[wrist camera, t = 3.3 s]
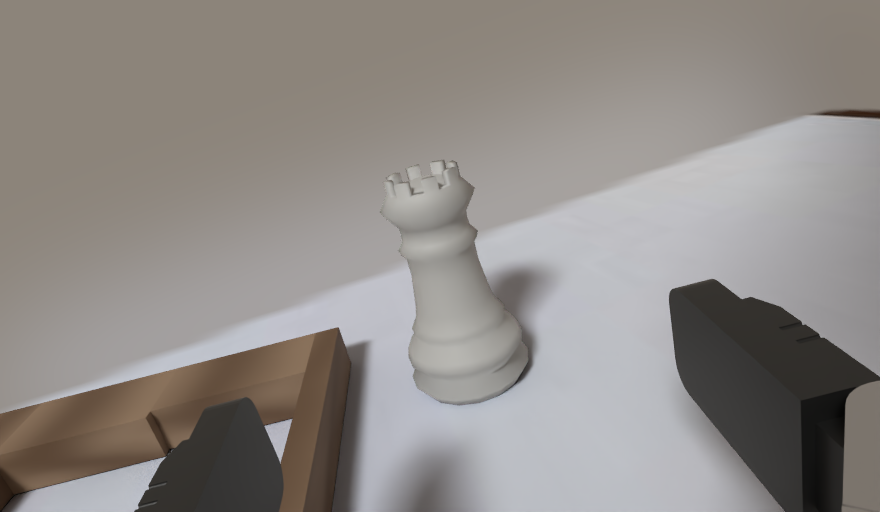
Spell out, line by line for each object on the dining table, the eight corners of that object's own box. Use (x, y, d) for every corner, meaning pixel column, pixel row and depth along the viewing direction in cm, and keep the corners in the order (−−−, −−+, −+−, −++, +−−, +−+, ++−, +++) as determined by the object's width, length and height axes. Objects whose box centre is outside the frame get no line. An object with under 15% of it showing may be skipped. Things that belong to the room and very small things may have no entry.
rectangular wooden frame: (351, 363, 25) (338, 327, 24) (315, 629, 14) (290, 575, 13) (-5, 453, 25) (-26, 420, 25) (-320, 784, 14) (-375, 739, 14)
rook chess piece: (464, 333, 25) (417, 153, 22) (554, 353, 22) (513, 148, 19) (392, 393, 22) (327, 195, 19) (484, 425, 19) (423, 197, 16)
